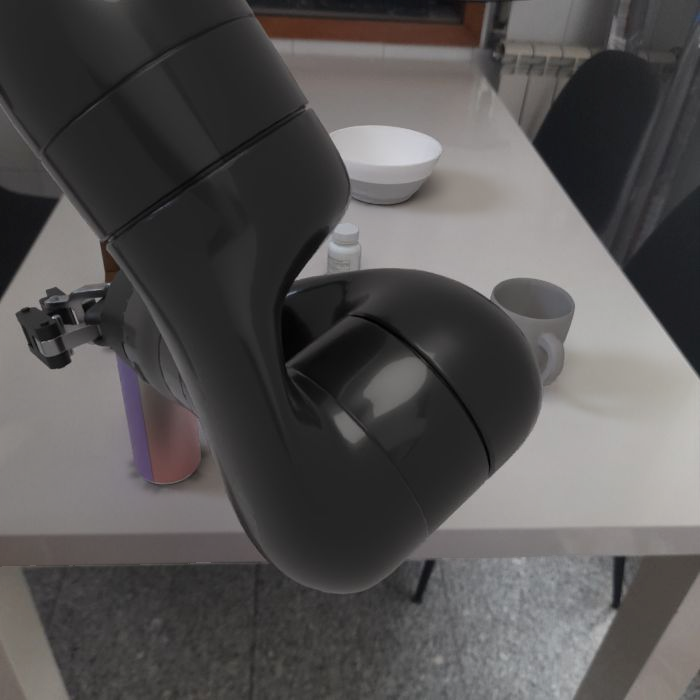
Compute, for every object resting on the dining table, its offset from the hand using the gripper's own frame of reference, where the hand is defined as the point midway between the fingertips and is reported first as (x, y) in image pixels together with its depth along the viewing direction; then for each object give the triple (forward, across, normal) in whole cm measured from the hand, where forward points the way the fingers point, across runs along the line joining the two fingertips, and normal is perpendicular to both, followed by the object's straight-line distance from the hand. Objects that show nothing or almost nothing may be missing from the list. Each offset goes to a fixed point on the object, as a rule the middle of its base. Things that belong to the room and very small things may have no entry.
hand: (116, 282), depth 50 cm
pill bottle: (+31, -34, +16) cm, 49 cm away
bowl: (+53, -56, +11) cm, 78 cm away
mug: (+5, -40, +26) cm, 48 cm away
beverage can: (+11, -1, +20) cm, 23 cm away
